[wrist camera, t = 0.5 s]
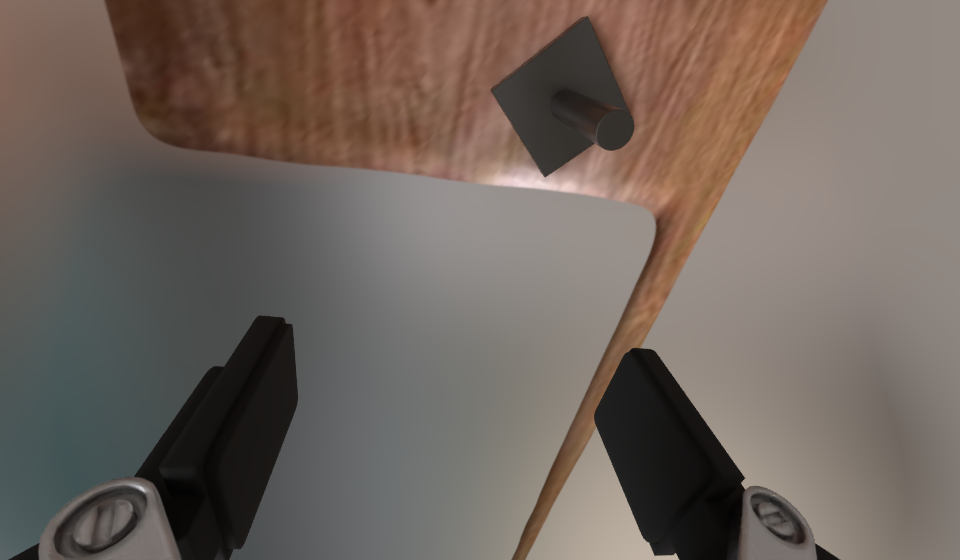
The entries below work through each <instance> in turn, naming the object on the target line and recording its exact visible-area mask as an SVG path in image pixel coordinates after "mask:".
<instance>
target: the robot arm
mask: <svg viewBox="0 0 960 560" xmlns="http://www.w3.org/2000/svg"><path fill="white" fill-rule="evenodd" d="M297 402H298V390H297V378H296V364H295V350H294V338H293V327H292V324H286V323H285V319H284V318H282V317H270V316H258V317H257V318H256V319H255V320H254V322H253V323H252V325H251V327H250V328H249V330H248V331H247V333H246V334H245V336H244V337H243V339H242V340H241V342H240V343H239V345H238V346H237V348H236V349H235V351H234V353H233V354H232V356H231V357H230V359H229V361H228V362H227V363H226V365H225V366H224V367H220V366H214V367H212V368H211V369H209V371H208V372H207V373H206V374H205V375H204V377H203V378H202V380H201V381H200V383H199V384H198V385H197V387H196V388H195V390H194V391H193V393H192V394H191V395H190V397H189V398H188V400H187V401H186V403H185V404H184V406H183V407H182V408H181V410H180V412H179V413H178V414H177V416H176V417H175V419H174V420H173V421H172V423H171V424H170V426H169V427H168V429H167V430H166V432H165V433H164V434H163V436H162V437H161V439H160V440H159V442H158V443H157V444H156V446H155V447H154V449H153V450H152V452H151V453H150V454H149V456H148V457H147V459H146V460H145V462H144V463H143V465H142V466H141V468H140V469H139V470H138V472H137V473H136V475H135V476H134V477H125V478H119V479H113V480H110V481H107V482H105V483H102V484H99V485H96V486H94V487H92V488H91V489H89V490H87V491H85V492H83V493H81V494H80V495H78V496H77V497H75V498H74V499H73V500H71V501H70V502H69V503H68V504H66V505H65V506H64V507H63V508H61V510H59V512H58V513H57V514H56V515H55V516H54V517H53V518H52V519H51V520H50V522H49V523H48V525H47V526H46V528H45V530H44V532H43V534H42V536H41V538H40V543H38V544H37V545H35V546H33V547H31V548H29V549H27V550H25V551H24V552H22V553H20V554H18V555H16V556H14V557H13V558H11V559H9V560H229V559H230V557H231V554H232V552H233V549H241V548H242V546H243V545H244V543H245V540H246V538H247V536H248V533H249V530H250V528H251V525H252V522H253V520H254V517H255V515H256V512H257V509H258V507H259V504H260V502H261V499H262V496H263V494H264V491H265V489H266V486H267V483H268V481H269V478H270V475H271V473H272V470H273V468H274V465H275V462H276V460H277V457H278V455H279V452H280V449H281V447H282V444H283V441H284V439H285V436H286V434H287V431H288V428H289V426H290V423H291V420H292V418H293V415H294V412H295V410H296V406H297ZM594 420H595V424H596V426H597V429H598V431H599V434H600V436H601V438H602V441H603V443H604V446H605V448H606V450H607V453H608V455H609V458H610V460H611V462H612V465H613V467H614V470H615V472H616V474H617V477H618V479H619V482H620V484H621V486H622V489H623V491H624V493H625V496H626V498H627V501H628V503H629V506H630V508H631V510H632V513H633V515H634V518H635V520H636V522H637V525H638V527H639V530H640V532H641V534H642V536H643V538H644V539H645V540H646V541H647V542H649V543H650V546H651V548H652V550H653V553H654V555H655V556H656V555H657V556H658V555H674V554H675V553H676V554H677V556H678V558H679V560H839V559H838V558H837V557H835V556H834V555H832V554H830V553H829V552H827V551H826V550H825V549H823V548H822V547H820V546H819V545H817V544H815V540H814V536H813V533H812V530H811V528H810V526H809V525H808V523H807V521H806V520H805V518H804V517H803V516H802V515H801V513H800V512H799V511H798V510H797V509H796V508H795V507H794V506H793V505H792V504H791V503H790V502H788V501H787V500H786V499H785V498H783V497H782V496H780V495H779V494H777V493H776V492H773V491H771V490H769V489H767V488H764V487H760V486H750V487H749V488H747V489H746V490H745V489H744V487H743V486H742V484H741V482H742V481H743V480H744V479H745V478H744V476H743V475H742V473H741V472H740V470H739V469H738V468H737V466H736V465H735V463H734V462H733V460H732V459H731V458H730V456H729V455H728V453H727V452H726V451H725V449H724V448H723V446H722V445H721V443H720V442H719V441H718V439H717V438H716V436H715V435H714V434H713V432H712V431H711V429H710V428H709V427H708V425H707V424H706V422H705V421H704V420H703V418H702V417H701V415H700V414H699V412H698V411H697V410H696V408H695V407H694V405H693V404H692V403H691V401H690V400H689V398H688V397H687V396H686V394H685V393H684V391H683V390H682V388H681V387H680V386H679V384H678V383H677V381H676V380H675V378H674V377H673V376H672V374H671V373H670V372H669V370H668V369H667V367H666V366H665V364H664V363H663V362H662V360H661V359H660V357H659V356H658V355H657V353H656V352H655V351H654V350H651V349H641V348H632V349H631V350H630V351H629V352H627V353H625V355H624V356H623V358H622V360H621V362H620V364H619V366H618V368H617V370H616V372H615V374H614V376H613V378H612V379H611V381H610V383H609V385H608V387H607V389H606V391H605V393H604V395H603V397H602V399H601V401H600V403H599V405H598V407H597V409H596V411H595V415H594Z"/></svg>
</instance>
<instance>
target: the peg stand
mask: <svg viewBox="0 0 960 560" xmlns="http://www.w3.org/2000/svg"><path fill="white" fill-rule="evenodd" d="M491 92H492V94H493V95H494V97H495V99H496V100H497V102H498V103H499V105H500V107H501V108H502V110H503V112H504V113H505V115H506V116H507V118H508V120H509V121H510V123H511V124H512V126H513V128H514V129H515V131H516V133H517V134H518V136H519V137H520V139H521V141H522V142H523V144H524V146H525V147H526V149H527V150H528V152H529V154H530V155H531V157H532V159H533V160H534V162H535V163H536V165H537V167H538V168H539V170H540V172H541V173H542V175H543V176H544V177H546V176H548V175H549V174H551V173H552V172H554V171H555V170H557V169H558V168H560V167H561V166H562V165H564V164H565V163H567V162H568V161H570V160H571V159H573V158H574V157H575V156H577V155H578V154H580V153H581V152H583V151H584V150H586V149H587V148H588V147H590V146H591V145H593V144H594V143H595V144H597V145H598V146H600V147H601V148H603V149H605V150H609V151H613V150H617V149H620V148H621V147H623V146H624V145H626V144H627V143H628V141H629V140H630V139H631V137H632V135H633V132H634V120H633V118H632V116H631V115H630V112H629V110H628V108H627V105H626V103H625V101H624V98H623V96H622V94H621V92H620V89H619V87H618V85H617V82H616V80H615V78H614V75H613V73H612V71H611V68H610V66H609V64H608V62H607V59H606V57H605V55H604V52H603V50H602V48H601V45H600V43H599V41H598V39H597V36H596V34H595V32H594V29H593V27H592V25H591V22H590V20H589V18H588V17H582V18H581V19H580V20H579V21H577V22H576V23H575V24H573V25H572V26H571V27H570V28H568V29H567V30H566V31H565V32H563V33H562V34H561V35H560V36H558V37H557V38H556V39H554V40H553V41H552V42H551V43H549V44H548V45H547V46H546V47H544V48H543V49H542V50H540V51H539V52H538V53H537V54H535V55H534V56H533V57H532V58H530V59H529V60H528V61H526V62H525V63H524V64H523V65H521V66H520V67H519V68H518V69H516V70H515V71H514V72H512V73H511V74H510V75H509V76H507V77H506V78H505V79H504V80H502V81H501V82H500V83H499V84H497V85H496V86H495V87H493V88H492V89H491Z"/></svg>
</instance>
